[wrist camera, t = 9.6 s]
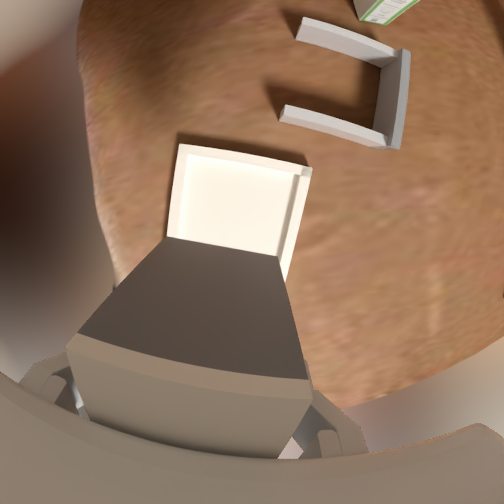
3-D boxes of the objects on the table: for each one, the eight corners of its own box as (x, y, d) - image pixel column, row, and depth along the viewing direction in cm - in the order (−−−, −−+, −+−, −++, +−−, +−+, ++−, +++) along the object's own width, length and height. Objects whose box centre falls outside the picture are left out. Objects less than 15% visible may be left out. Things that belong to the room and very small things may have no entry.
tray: (309, 167, 26) (312, 167, 25) (277, 298, 31) (278, 304, 30) (183, 144, 25) (179, 143, 24) (166, 278, 30) (163, 283, 29)
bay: (389, 64, 22) (410, 52, 17) (376, 149, 25) (399, 149, 21) (296, 32, 21) (305, 12, 16) (278, 121, 25) (284, 112, 20)
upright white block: (277, 256, 11) (313, 399, 4) (246, 379, 13) (244, 503, 6) (166, 236, 10) (64, 347, 4) (161, 364, 13) (121, 480, 6)
